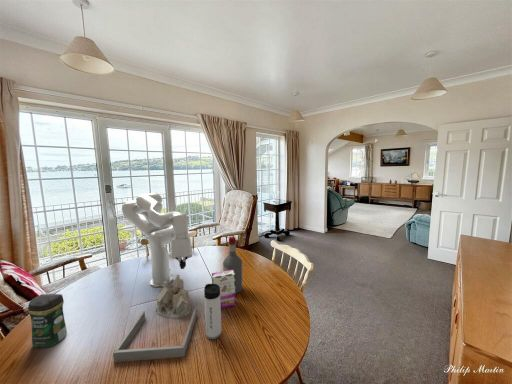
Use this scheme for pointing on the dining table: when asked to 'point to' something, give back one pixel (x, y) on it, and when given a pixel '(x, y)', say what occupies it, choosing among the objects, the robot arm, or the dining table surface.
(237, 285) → the liquor
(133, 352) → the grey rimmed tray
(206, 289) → the travel mug
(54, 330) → the coffee jar
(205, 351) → the dining table surface
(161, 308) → the ceramic cottage
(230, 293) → the candy bar box
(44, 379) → the dining table surface
